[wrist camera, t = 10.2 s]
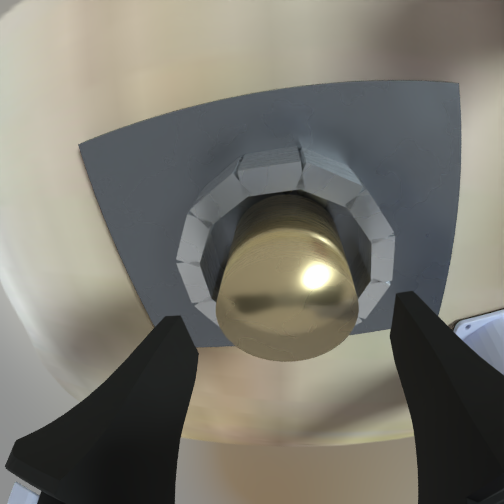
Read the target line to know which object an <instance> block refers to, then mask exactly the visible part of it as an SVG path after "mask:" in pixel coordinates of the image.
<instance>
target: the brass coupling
mask: <svg viewBox="0 0 504 504" xmlns="http://www.w3.org/2000/svg"><path fill="white" fill-rule="evenodd" d="M358 313H359V303H358V298H357V294H356V290H355V287H354V283H353V280H352V276H351V273H350V269H349V266H348V262H347V259H346V256H345V253H344V249H343V246H342V243H341V240H340V237H339V234H338V230H337V227H336V225H335V223H334V220H333V219H332V217H331V216H330V214H329V213H328V212H327V211H326V210H325V209H324V208H323V207H322V206H320V205H319V204H317V203H316V202H314V201H312V200H310V199H308V198H305V197H301V196H297V195H277V196H272V197H269V198H265V199H263V200H261V201H259V202H257V203H256V204H254V205H253V206H251V207H250V208H249V209H248V210H247V211H246V212H245V213H244V214H243V216H242V217H241V219H240V220H239V222H238V224H237V227H236V230H235V234H234V237H233V241H232V245H231V248H230V252H229V256H228V260H227V263H226V267H225V271H224V275H223V278H222V282H221V286H220V290H219V294H218V297H217V301H216V318H217V322H218V324H219V327H220V329H221V330H222V332H223V334H224V335H225V336H226V337H227V338H228V340H229V341H231V342H232V343H233V344H234V345H235V346H237V347H238V348H239V349H241V350H243V351H245V352H246V353H249V354H251V355H253V356H256V357H259V358H263V359H267V360H273V361H284V362H287V361H300V360H306V359H310V358H314V357H317V356H319V355H322V354H324V353H326V352H328V351H330V350H332V349H333V348H335V347H337V346H338V345H339V344H340V343H342V342H343V341H344V340H345V339H346V338H347V337H348V335H349V334H350V333H351V331H352V330H353V328H354V326H355V324H356V321H357V318H358Z"/></svg>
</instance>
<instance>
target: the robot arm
mask: <svg viewBox="0 0 504 504" xmlns="http://www.w3.org/2000/svg"><path fill="white" fill-rule="evenodd" d="M390 340H391V345H392V350H393V355H394V360H395V364H396V367H397V371H398V374H399V377H400V380H401V384H402V387H403V390H404V394H405V397H406V400H407V404H408V407H409V411H410V415H411V419H412V424H413V429H414V436H415V443H416V454H417V465H418V504H504V309H503V310H500V311H496V312H492V313H489V314H485V315H481V316H477V317H473V318H469V319H465V320H461V321H459V322H458V323H457V324H456V326H455V328H454V331H452V330H451V329H450V328H449V327H448V326H447V325H446V324H445V323H444V322H443V321H442V320H441V319H440V318H439V317H438V316H437V315H436V314H435V313H434V312H433V311H432V309H431V308H430V307H429V306H428V305H427V304H426V303H425V302H424V301H423V300H422V299H421V298H420V297H419V296H418V295H417V294H416V293H415V292H414V291H407V292H401V293H396V296H395V304H394V311H393V318H392V325H391V331H390ZM198 355H199V353H198V351H197V349H196V347H195V345H194V343H193V341H192V339H191V336H190V334H189V332H188V330H187V328H186V326H185V323H184V321H183V319H182V317H181V315H177V316H165V317H164V318H163V319H162V320H161V321H160V322H159V323H158V324H157V326H156V327H155V328H154V329H153V330H152V331H151V332H150V333H149V335H148V336H147V337H146V338H145V339H144V340H143V341H142V343H141V344H140V345H139V346H138V347H137V348H136V349H135V350H134V351H133V353H132V354H131V355H130V356H129V357H128V358H127V359H126V360H125V361H124V362H123V363H122V364H121V365H120V366H119V367H118V369H117V370H116V371H115V372H114V373H113V374H112V375H111V376H110V377H109V378H108V379H107V380H106V381H105V382H104V383H103V384H101V385H100V386H99V387H98V388H97V389H96V390H95V391H94V392H92V393H91V394H90V395H89V396H88V397H87V398H85V399H84V400H83V401H82V402H80V403H79V404H78V405H76V406H75V407H73V408H72V409H71V410H69V411H68V412H67V413H65V414H64V415H62V416H61V417H59V418H58V419H56V420H55V421H53V422H52V423H50V424H48V425H46V426H45V427H43V428H41V429H39V430H37V431H35V432H33V433H31V434H29V435H27V436H25V437H22V438H20V439H18V440H16V442H15V444H14V446H13V448H12V451H11V453H10V456H9V458H8V460H7V463H6V465H5V467H6V469H7V470H9V471H10V472H11V473H13V474H15V475H16V476H18V477H19V478H21V479H22V480H24V481H26V482H28V483H29V484H31V485H32V486H34V487H36V488H37V489H39V490H41V494H40V495H38V494H36V493H35V492H33V491H31V490H30V489H28V488H26V487H25V486H23V485H21V484H20V483H18V482H15V483H14V486H13V489H12V491H11V494H10V497H9V500H8V503H7V504H175V481H176V469H177V459H178V451H179V444H180V438H181V433H182V429H183V425H184V421H185V417H186V413H187V410H188V406H189V402H190V399H191V395H192V391H193V387H194V383H195V379H196V372H197V364H198Z"/></svg>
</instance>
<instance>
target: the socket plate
mask: <svg viewBox="0 0 504 504" xmlns="http://www.w3.org/2000/svg"><path fill="white" fill-rule="evenodd" d="M79 149H80V152H81V155H82V158H83V161H84V164H85V167H86V170H87V173H88V176H89V179H90V181H91V184H92V187H93V190H94V193H95V195H96V198H97V201H98V203H99V206H100V208H101V211H102V214H103V216H104V219H105V221H106V224H107V226H108V229H109V231H110V233H111V236H112V238H113V240H114V243H115V245H116V247H117V250H118V252H119V254H120V257H121V259H122V261H123V263H124V265H125V268H126V270H127V272H128V274H129V276H130V278H131V281H132V283H133V285H134V287H135V289H136V291H137V293H138V295H139V297H140V299H141V301H142V303H143V305H144V307H145V309H146V311H147V313H148V315H149V317H150V319H151V321H152V322H153V324H154V326H155V327H156V326H157V324H158V323H159V322H160V321H161V320H162V319H163V318H164V317H165V316H177V315H181V317H182V319H183V321H184V323H185V326H186V328H187V330H188V332H189V334H190V336H191V339H192V341H193V343H194V345H195V347H222V346H235V345H234V344H233V343H232V342H231V341H229V340H228V338H227V337H226V336H225V335H224V334H223V332H222V330H221V329H220V327H219V324H218V322H217V318H216V301H217V297H218V294H219V290H220V286H221V282H222V278H223V275H224V271H225V267H226V263H227V260H228V256H229V252H230V248H231V245H232V241H233V237H234V234H235V230H236V227H237V224H238V222H239V220H240V219H241V217H242V216H243V214H244V213H245V212H246V211H247V210H248V209H249V208H250V207H251V206H253V205H254V204H256V203H257V202H259V201H261V200H263V199H265V198H269V197H272V196H277V195H297V196H301V197H305V198H308V199H310V200H312V201H314V202H316V203H317V204H319V205H320V206H322V207H323V208H324V209H325V210H326V211H327V212H328V213H329V214H330V216H331V217H332V219H333V220H334V223H335V225H336V227H337V230H338V234H339V237H340V240H341V243H342V246H343V249H344V253H345V256H346V259H347V262H348V266H349V269H350V273H351V276H352V280H353V283H354V287H355V290H356V294H357V298H358V303H359V313H358V318H357V321H356V324H355V326H354V328H353V330H352V331H351V333H350V334H349V335H354V334H361V333H367V332H374V331H380V330H386V329H391V325H392V318H393V311H394V304H395V296H396V293H401V292H407V291H414V292H415V293H416V294H417V295H418V296H419V297H420V298H421V299H422V300H423V301H424V302H425V303H426V304H427V305H428V306H429V307H430V308H431V309H432V311H433V312H434V313H435V314H436V315H437V316H438V314H439V311H440V307H441V303H442V298H443V294H444V290H445V285H446V281H447V276H448V271H449V265H450V260H451V254H452V248H453V242H454V235H455V228H456V220H457V211H458V201H459V189H460V173H461V110H460V94H459V83H452V82H438V81H415V80H377V81H352V82H337V83H325V84H315V85H306V86H297V87H290V88H283V89H276V90H269V91H263V92H257V93H252V94H246V95H241V96H236V97H231V98H226V99H222V100H217V101H213V102H208V103H204V104H200V105H196V106H192V107H188V108H184V109H181V110H177V111H173V112H170V113H166V114H163V115H159V116H156V117H153V118H149V119H146V120H143V121H140V122H137V123H134V124H131V125H128V126H125V127H122V128H119V129H117V130H114V131H111V132H108V133H106V134H103V135H100V136H98V137H95V138H93V139H90V140H88V141H85V142H83V143H81V144H79Z"/></svg>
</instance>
